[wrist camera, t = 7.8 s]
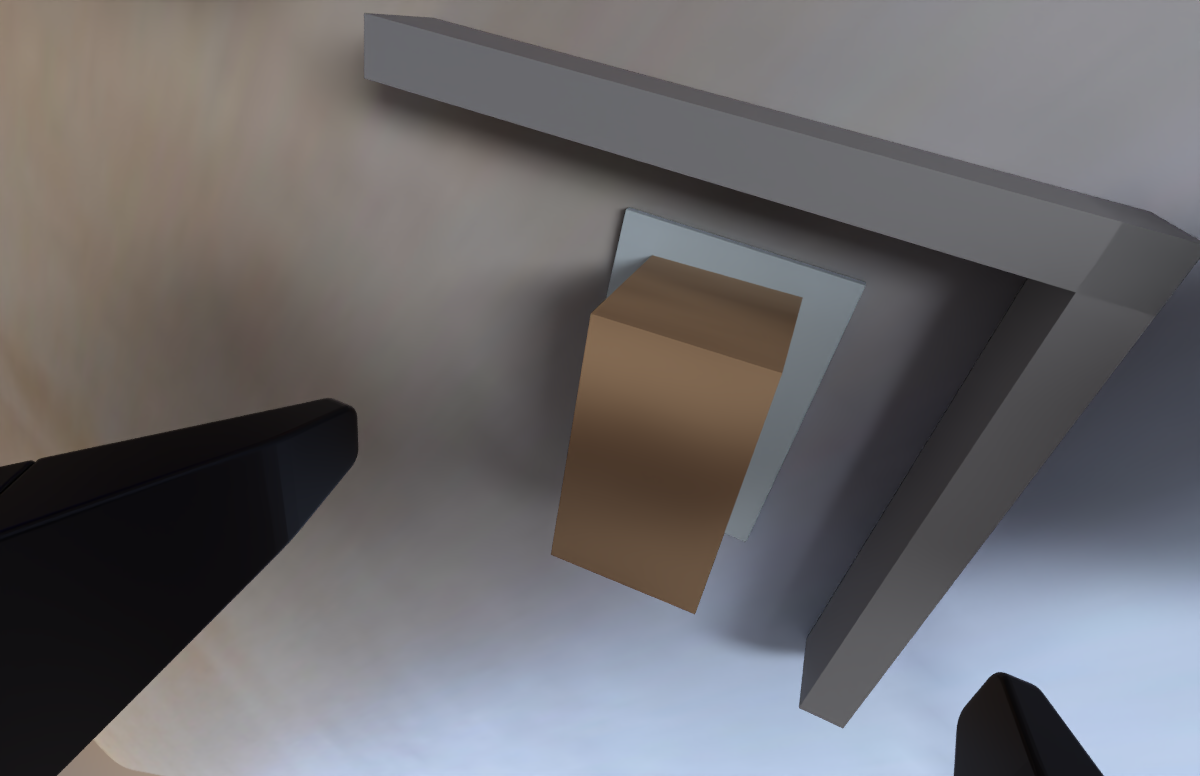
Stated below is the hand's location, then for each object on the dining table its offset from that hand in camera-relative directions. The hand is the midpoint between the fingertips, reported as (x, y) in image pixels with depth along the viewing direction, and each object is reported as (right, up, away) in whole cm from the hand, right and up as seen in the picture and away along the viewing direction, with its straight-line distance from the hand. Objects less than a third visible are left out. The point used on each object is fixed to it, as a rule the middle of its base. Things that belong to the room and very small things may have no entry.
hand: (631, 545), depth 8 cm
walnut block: (+3, +2, +12) cm, 12 cm away
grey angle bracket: (+2, +2, +12) cm, 13 cm away
